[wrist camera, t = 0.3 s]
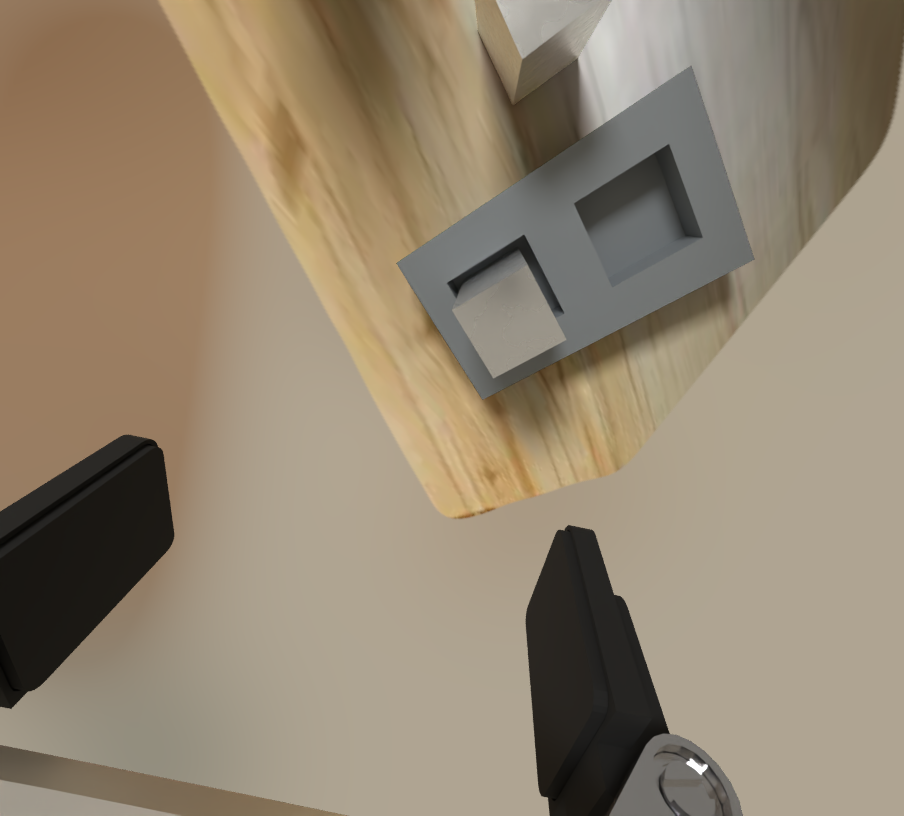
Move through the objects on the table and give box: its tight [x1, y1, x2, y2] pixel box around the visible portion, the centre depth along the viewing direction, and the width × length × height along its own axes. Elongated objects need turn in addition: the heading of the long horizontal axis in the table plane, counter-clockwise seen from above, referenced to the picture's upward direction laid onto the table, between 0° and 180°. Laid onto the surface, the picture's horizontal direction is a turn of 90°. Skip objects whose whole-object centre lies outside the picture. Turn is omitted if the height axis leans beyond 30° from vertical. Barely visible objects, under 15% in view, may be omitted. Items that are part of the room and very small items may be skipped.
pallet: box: [396, 66, 754, 400], centre depth 33 cm, size 22×13×4 cm, turn 122°
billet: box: [452, 247, 566, 378], centre depth 30 cm, size 5×5×11 cm
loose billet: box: [475, 0, 611, 105], centre depth 24 cm, size 5×5×11 cm
